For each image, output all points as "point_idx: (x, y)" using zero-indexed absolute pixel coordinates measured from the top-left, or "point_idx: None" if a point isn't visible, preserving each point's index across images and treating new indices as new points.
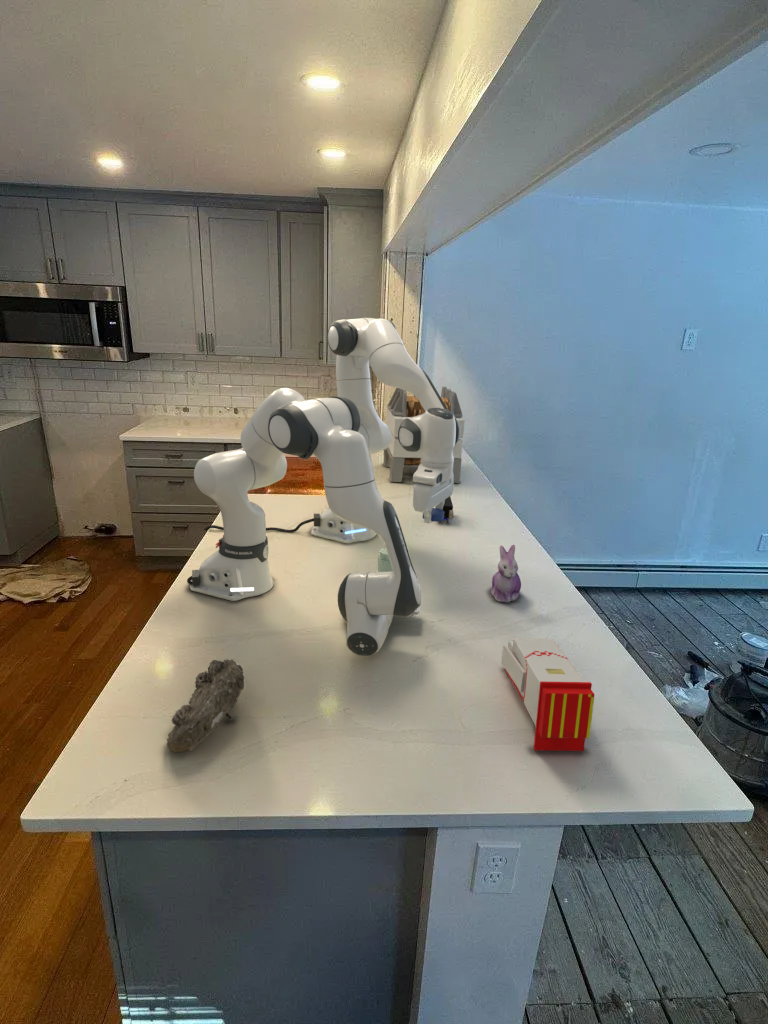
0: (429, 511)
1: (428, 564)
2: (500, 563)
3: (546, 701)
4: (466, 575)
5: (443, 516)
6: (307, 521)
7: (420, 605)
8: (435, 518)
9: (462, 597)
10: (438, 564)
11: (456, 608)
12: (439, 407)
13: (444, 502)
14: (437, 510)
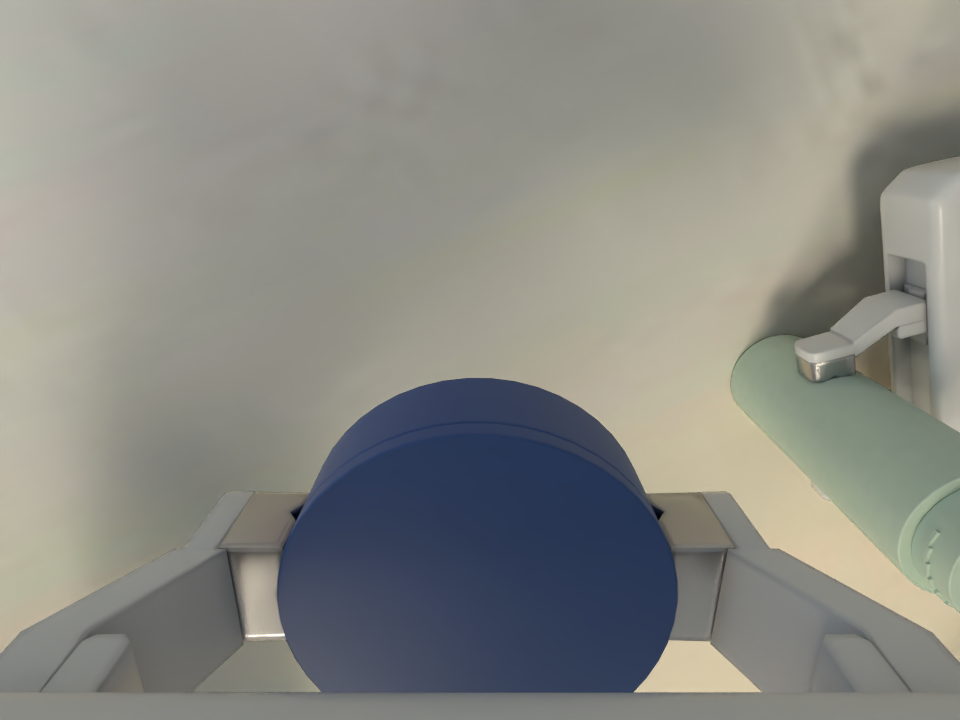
0: (952, 663)
1: (234, 376)
2: None
3: None
4: (214, 120)
5: (460, 401)
6: None
7: (914, 166)
8: (636, 476)
9: (513, 30)
10: (194, 329)
11: (666, 11)
12: None
13: (32, 626)
14: (387, 576)
